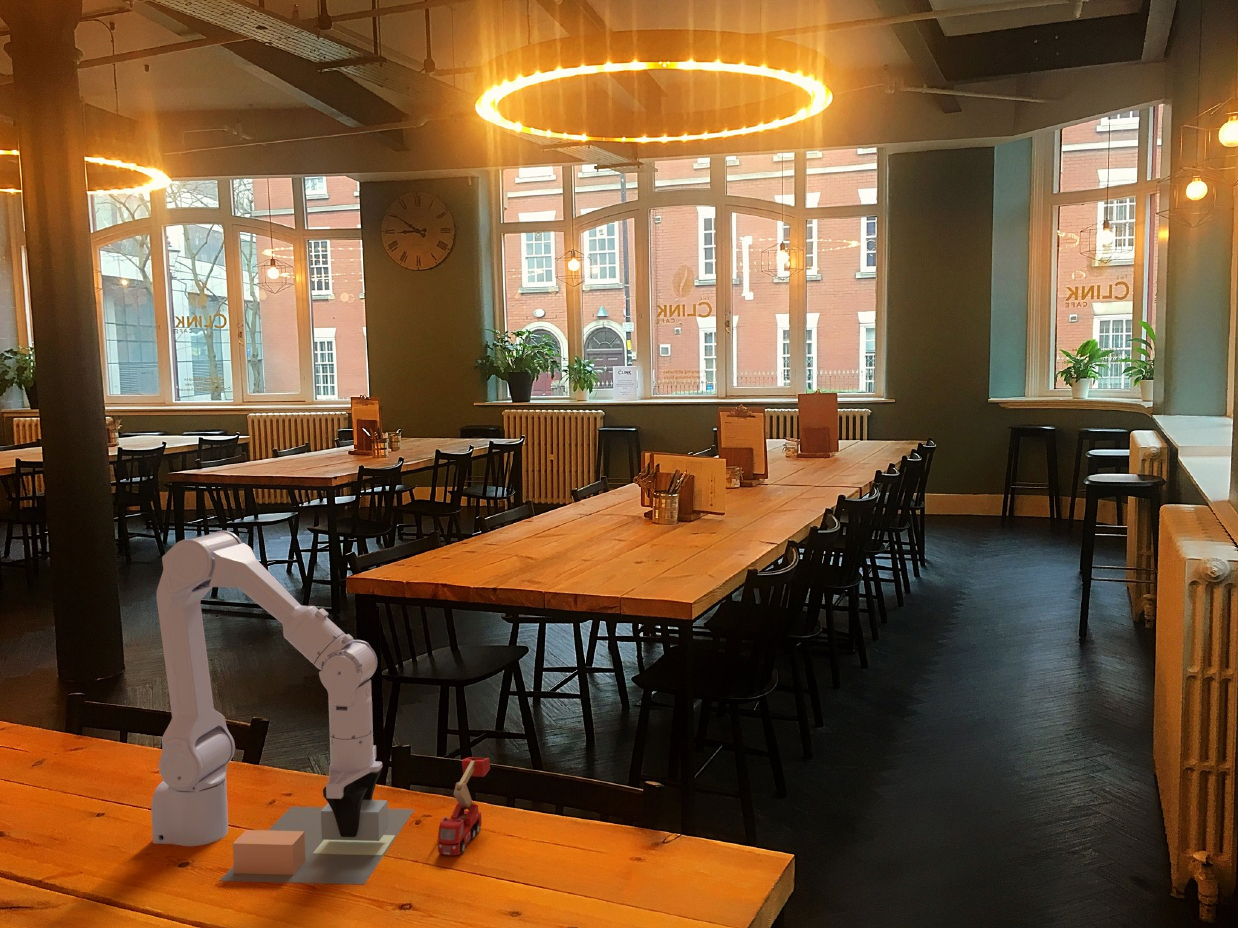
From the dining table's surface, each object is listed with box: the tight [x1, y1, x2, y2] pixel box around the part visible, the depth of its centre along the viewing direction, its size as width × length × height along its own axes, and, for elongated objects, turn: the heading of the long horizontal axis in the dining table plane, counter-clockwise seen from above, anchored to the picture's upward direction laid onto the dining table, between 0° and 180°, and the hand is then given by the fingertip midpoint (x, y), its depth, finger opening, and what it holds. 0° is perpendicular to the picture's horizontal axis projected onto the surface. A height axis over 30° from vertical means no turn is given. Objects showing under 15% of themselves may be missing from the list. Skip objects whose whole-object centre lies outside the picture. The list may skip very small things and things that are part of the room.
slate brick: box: [321, 799, 389, 841], centre depth 138 cm, size 8×4×4 cm, turn 86°
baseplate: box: [219, 806, 415, 886], centre depth 139 cm, size 19×23×1 cm
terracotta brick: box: [232, 829, 306, 875], centre depth 132 cm, size 8×4×4 cm, turn 86°
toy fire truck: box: [437, 756, 491, 856], centre depth 143 cm, size 3×14×10 cm, turn 168°
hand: (354, 828), depth 138 cm, fingers closed on slate brick, 4 cm apart
